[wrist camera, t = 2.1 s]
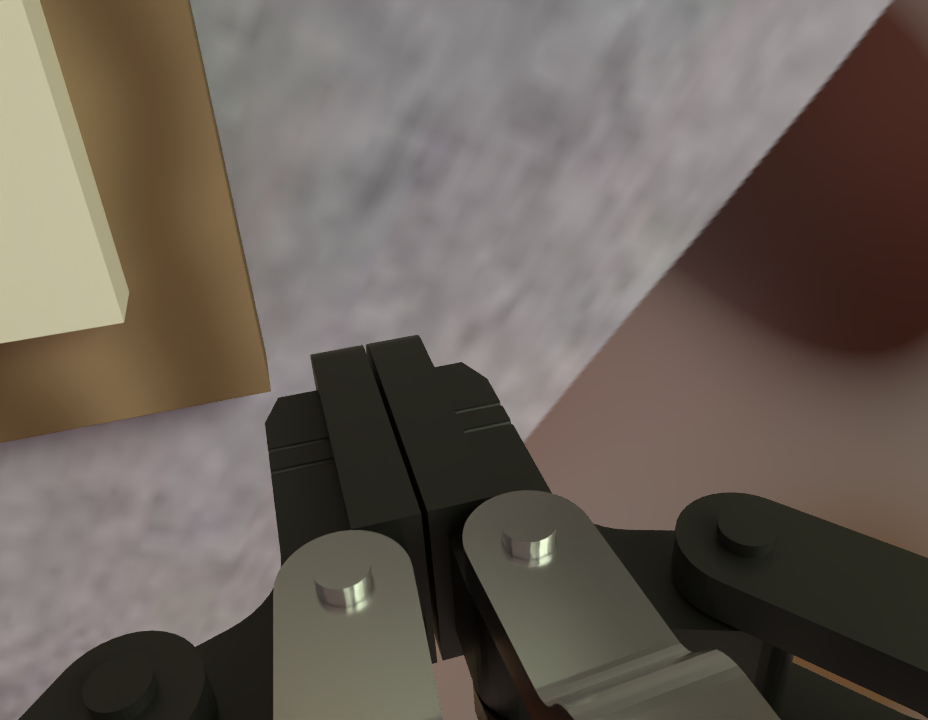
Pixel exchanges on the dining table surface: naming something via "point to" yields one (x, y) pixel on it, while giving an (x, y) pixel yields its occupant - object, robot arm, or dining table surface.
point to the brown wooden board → (144, 232)
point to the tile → (48, 196)
